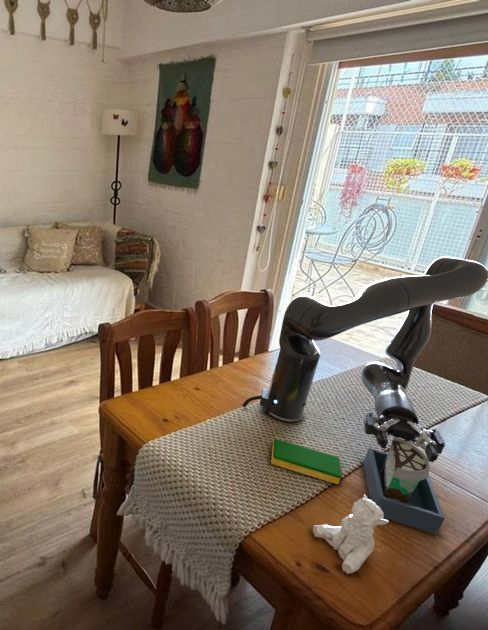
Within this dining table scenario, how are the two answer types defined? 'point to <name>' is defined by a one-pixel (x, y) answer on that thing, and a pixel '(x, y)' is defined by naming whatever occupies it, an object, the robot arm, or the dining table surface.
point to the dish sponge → (306, 461)
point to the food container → (403, 470)
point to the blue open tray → (420, 505)
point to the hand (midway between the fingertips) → (408, 451)
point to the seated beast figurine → (354, 533)
